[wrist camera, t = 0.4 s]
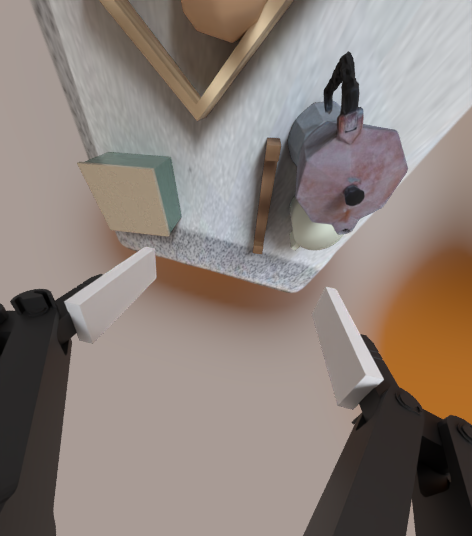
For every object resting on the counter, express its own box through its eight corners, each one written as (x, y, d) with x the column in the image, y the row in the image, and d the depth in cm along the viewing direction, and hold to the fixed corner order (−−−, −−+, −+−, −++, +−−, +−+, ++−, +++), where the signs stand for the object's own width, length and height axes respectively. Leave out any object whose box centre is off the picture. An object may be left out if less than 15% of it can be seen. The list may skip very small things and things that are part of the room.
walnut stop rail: (267, 137, 30) (266, 144, 27) (279, 138, 30) (281, 145, 27) (254, 239, 44) (252, 253, 41) (262, 240, 44) (261, 254, 40)
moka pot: (294, 193, 36) (310, 263, 22) (271, 91, 27) (271, 97, 12) (351, 173, 32) (415, 241, 18) (346, 48, 23) (468, -14, 9)
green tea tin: (108, 150, 35) (77, 163, 30) (171, 155, 34) (152, 169, 29) (131, 211, 44) (110, 230, 38) (182, 216, 43) (169, 236, 37)
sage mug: (308, 177, 34) (317, 198, 27) (342, 199, 35) (358, 223, 29) (275, 220, 40) (276, 245, 34) (304, 237, 42) (310, 264, 36)
